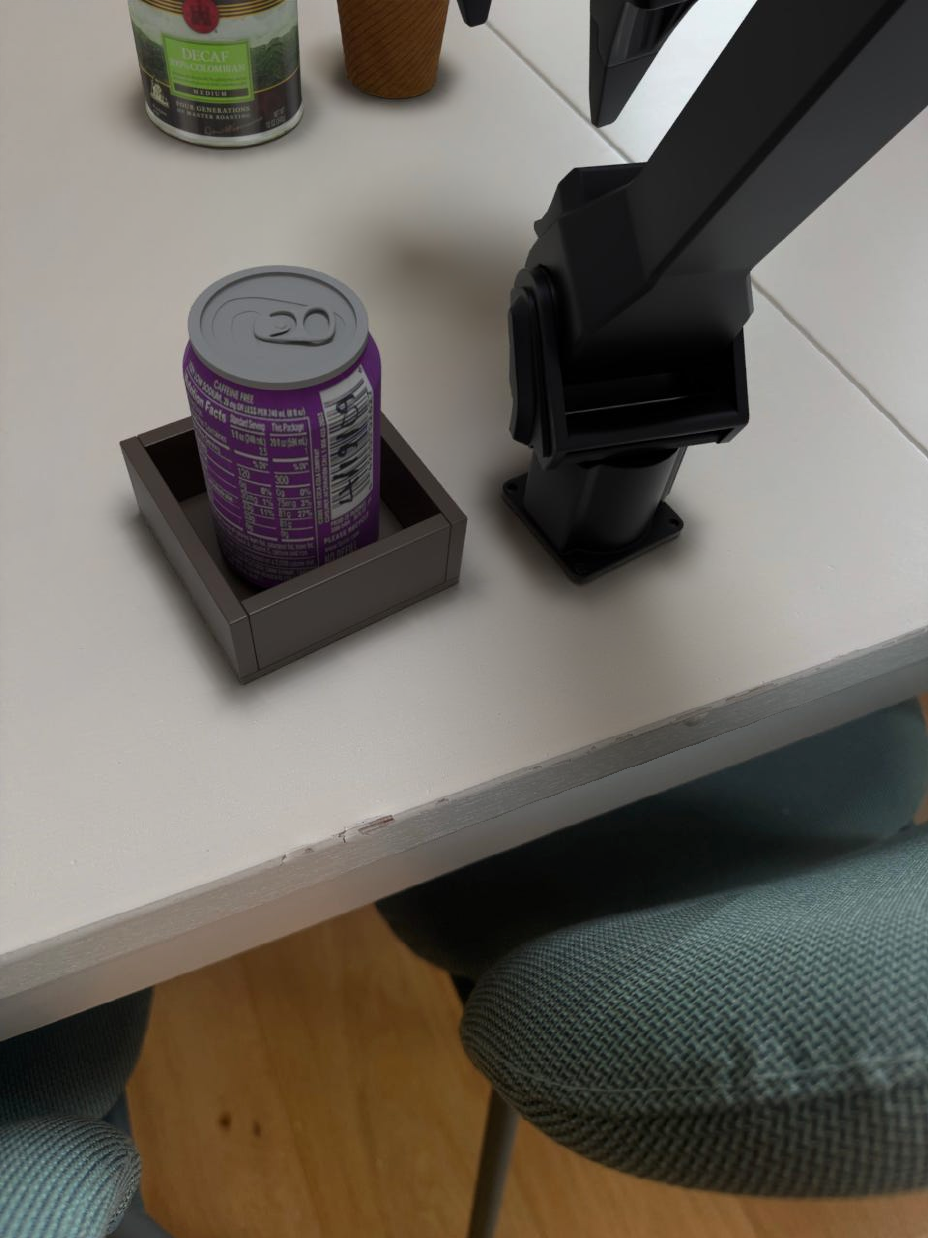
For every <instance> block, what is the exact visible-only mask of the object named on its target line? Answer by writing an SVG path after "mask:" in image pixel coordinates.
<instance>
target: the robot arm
mask: <svg viewBox="0 0 928 1238" xmlns="http://www.w3.org/2000/svg"><path fill="white" fill-rule="evenodd" d="M492 1H493V0H456V3H457V6H458V9H459V12H460V15H461V19H462V21H463V23H464V24H465V25H466V26H467V27H469V28H474V27H478V26H481V25H484V24H486V22H487V21H488V19H489V15H490V12H491V11H490V10H491V6H492ZM699 1H700V0H589V38H588V39H589V42H588V43H589V45H588V46H589V47H588V103H589V113H590V123H591V125H593V126H594V127H595V128H596V129H600V128H603V127H606V126H609V125H612V124H613V123H615V121H617V119H618V117H619V116H620V115H621V113H622V111H623V110H624V109H625V107H626V105H627V103H628V102H629V100H630V98H632V96H633V94H634V92H635V91H636V89H637V87H638V86H639V84H640V83H641V81H642V80H643V78H644V77H645V75H646V73H647V72H648V70H649V69H650V67H651V65H652V64H653V63H654V61H655V60H656V57H657V56H658V55H659V53H660V51H661V50H662V48H663V47H664V45H665V43H666V42H667V40H668V39H669V37H670V36H671V35H672V33H673V32H674V30H675V29H676V28H677V27H678V26H679V24H680V23H681V22H682V20H683V19H684V18H685V17H686V15H688V13H689V12H690V10H692V8H693V7H694V6H695V5H696V4H697V3H698V2H699ZM926 108H928V0H756V1H754V4H753V5H752V7H751V8H750V10H749V11H748V13H747V14H746V15H745V17H744V18H743V20H742V21H741V23H740V24H739V26H738V27H737V29H735V31H734V33H733V35H732V36H731V37H730V39H729V40H728V42H727V43H726V45H725V46H724V47H723V49H722V50H721V52H720V53H719V55H718V56H717V58H716V60H715V61H714V62H713V64H712V65H711V66H710V68H709V70H708V71H707V73H706V74H705V76H704V77H703V78H702V80H701V82H700V83H699V84H698V86H697V87H696V89H695V90H694V91H693V93H692V95H691V96H690V98H689V99H688V101H687V102H686V104H685V105H684V106H683V108H682V110H681V111H680V112H679V114H678V115H677V117H676V118H675V119H674V121H673V123H672V124H671V125H670V127H669V128H668V130H667V132H666V133H665V134H664V135H663V137H662V139H661V140H660V142H658V144H657V146H656V147H655V149H654V150H653V152H652V153H651V155H650V156H649V157H648V159H647V161H640V162H627V163H615V164H603V165H602V164H601V165H591V166H589V165H588V166H578V167H573V168H572V169H571V170H569V172H568V173H567V174H565V176H563V178H562V179H561V180H560V181H559V182H558V183H557V185H556V188H555V191H554V194H553V196H552V199H551V201H550V204H549V206H548V209H547V211H546V212H545V213H544V215H543V216H542V217H541V218H539V219H537V220H534V221H533V231H534V233H535V235H536V237H537V239H536V240H535V241H534V243H533V245H532V246H531V248H530V249H529V250H528V253H527V256H526V259H525V261H524V262H525V263H524V267H523V268H521V269H520V270H519V271H517V274H516V276H515V280H514V284H513V288H511V290H510V295H509V296H510V297H509V302H510V303H509V309H508V310H507V314H506V318H507V331H508V333H507V334H508V344H509V351H508V352H509V356H508V358H509V360H508V384H509V388H510V394H511V395H510V396H511V399H512V408H511V415H510V420H509V427H508V432H509V433H510V436H511V438H512V440H513V441H515V442H518V443H520V444H522V445H524V446H526V447H528V449H529V450H532V454H531V458H530V463H529V469H528V471H527V472H524V473H522V474H519V475H518V476H515V477H513V478H510V479H509V480H506V481H505V482H503V484H502V487H501V496H502V498H503V499H504V501H505V502H506V503H507V504H508V505H509V507H511V509H512V510H513V511H514V513H515V514H516V515H517V516H518V517H519V519H521V521H522V522H523V523H524V525H526V527H527V528H528V529H529V530H530V532H532V534H533V535H534V536H535V537H536V538H537V540H538V542H540V543H541V544H542V546H543V547H544V548H545V550H546V551H548V553H549V554H550V555H551V556H552V558H553V559H554V560H555V561H556V562H557V563H558V565H559V566H560V567H561V568H562V569H563V571H564V572H565V573H566V574H567V576H568V577H569V578H570V579H571V580H572V581H574V582H575V583H579V584H580V583H581V584H583V583H584V584H585V583H586V582H589V581H591V580H594V578H596V577H599V576H601V575H603V574H604V573H607V572H608V571H610V570H613V569H614V568H617V567H618V566H621V565H622V564H625V563H626V562H629V561H631V560H633V559H634V558H636V557H638V556H640V555H642V554H645V553H646V552H648V551H650V550H652V549H654V548H656V547H658V546H660V545H662V544H664V543H667V542H668V541H669V540H671V539H674V538H675V537H677V536H679V535H680V534H681V533H682V531H683V529H684V526H685V525H684V521H683V518H681V517H680V516H679V514H677V513H676V511H675V510H674V509H673V508H671V506H670V505H669V504H668V503H667V502H666V501H665V500H666V498H667V497H668V496H669V495H670V493H671V490H672V488H673V487H674V486H673V485H674V483H675V480H676V478H677V475H678V472H679V470H680V468H681V465H682V464H683V463H682V462H683V460H684V457H685V456H686V453H687V450H688V447H692V446H693V447H694V446H699V445H706V444H713V443H715V444H717V445H720V444H726V443H727V444H728V443H731V442H732V440H734V438H736V437H737V435H738V434H740V433H741V432H742V431H743V430H744V429H745V428H746V427H747V426H748V424H749V423H750V418H751V417H750V415H751V414H750V402H749V388H748V387H749V386H748V373H747V372H748V371H747V360H746V345H745V330H744V326H745V325H746V324H747V322H748V321H749V320H750V318H751V317H752V315H753V314H754V311H755V305H754V295H753V286H752V277H751V272H752V270H753V269H754V268H755V267H756V266H757V265H758V264H759V263H761V262H762V261H763V259H764V258H765V257H767V256H768V255H769V254H770V253H771V252H772V251H773V250H774V249H775V248H776V247H777V246H778V245H780V244H781V243H782V242H783V241H784V240H785V239H786V238H787V237H788V236H789V235H791V234H792V232H794V231H795V230H796V229H797V228H798V227H799V226H800V225H801V224H802V223H803V222H804V221H806V219H808V218H809V217H810V216H811V215H812V214H813V213H814V212H815V211H816V210H817V209H819V208H820V207H821V206H822V205H823V204H824V203H825V202H826V201H827V200H828V199H829V198H831V196H832V195H833V194H835V193H836V192H837V191H838V190H839V189H840V188H841V187H843V185H844V184H845V183H846V182H848V181H849V180H850V179H851V178H852V177H853V176H854V175H855V174H856V173H857V172H858V171H860V169H861V168H863V167H864V166H865V165H866V164H867V163H868V162H869V161H870V160H871V159H872V158H874V157H875V156H876V155H877V154H878V153H879V152H880V151H881V150H882V149H883V148H885V146H887V144H889V143H890V141H893V139H894V138H895V137H896V136H897V135H898V134H899V133H900V132H901V131H903V129H905V128H906V127H907V126H908V125H909V124H910V123H911V122H912V121H913V120H915V118H916V117H918V116H919V115H920V114H921V113H922V112H923V111H924V110H925V109H926ZM672 525H673V526H672ZM578 570H580V571H583V572H579V571H578Z"/></svg>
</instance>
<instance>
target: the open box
mask: <svg viewBox="0 0 928 1238" xmlns="http://www.w3.org/2000/svg"><path fill="white" fill-rule="evenodd" d="M118 444H119V448H120V451H121V454H122V457H123V460H124V463H125V464H124V465H125V467H126V470H127V474H128V477H129V480H130V484H131V487H132V490H133V493H134V497H135V499H136V503H137V505H138V509H139V512H140V514H141V516H142V517H143V519H144V521H145V522H146V524H147V526H148V528H149V529H150V531H151V532H152V534H153V536H154V537H155V540H156V541H157V543H158V544H159V546H160V547H161V550H162V552H163V553H164V555H165V556H166V558H167V560H168V562H169V563H170V565H171V567H172V568H173V570H174V572H175V574H176V575H177V577H178V578H179V581H180V582H181V583H182V585H183V587H184V589H185V590H186V592H187V594H188V596H189V597H190V599H191V600H192V602H193V604H194V605H195V608H196V609H197V610H198V612H199V614H200V616H201V617H202V619H203V621H204V623H205V624H206V626H207V628H208V629H209V632H210V633H211V634H212V636H213V638H214V639H215V641H216V643H217V645H218V646H219V648H220V650H221V651H222V653H223V655H224V657H225V658H226V660H227V662H228V663H229V666H231V668H232V670H233V672H234V673H235V675H236V677H237V679H238V680H239V681H240V683H241V685H245V684H247V683H250V682H252V681H254V680H256V679H259V678H261V677H263V676H264V675H267V674H269V673H271V672H272V671H275V670H276V669H279V668H282V667H283V666H285V665H287V664H289V663H291V662H294V661H295V660H298V659H300V658H302V657H304V656H306V655H309V654H310V653H312V652H314V651H317V650H319V649H321V648H324V647H325V646H327V645H329V644H331V643H334V642H335V641H338V640H340V639H343V638H344V637H346V636H347V635H348V636H349V635H350V634H352V633H354V632H356V631H358V630H360V629H363V628H365V627H368V626H369V625H371V624H373V623H375V622H377V621H381V620H382V619H384V618H385V617H388V616H390V615H392V614H394V613H397V612H399V611H401V610H402V609H405V608H407V607H409V606H411V605H413V604H416V603H417V602H420V601H422V600H424V599H426V598H428V597H430V596H432V595H434V594H436V593H438V592H440V591H443V590H445V589H447V588H448V587H451V586H453V585H455V584H457V583H459V582H460V577H461V576H460V575H461V571H462V564H463V563H462V562H463V556H464V548H465V540H466V532H467V527H468V526H467V525H468V520H469V519H468V516H467V514H465V512H464V511H463V510H462V509H461V508H460V506H459V505H458V504H457V502H456V501H455V500H454V499H453V498H452V496H451V495H450V494H449V493H448V491H447V490H446V489H445V488H444V486H443V485H442V484H441V483H440V481H439V479H437V478H436V476H435V475H434V474H433V472H431V470H430V469H429V468H428V467H427V465H426V464H425V463H424V462H423V460H422V459H421V458H420V457H419V456H418V454H417V453H416V452H415V450H414V449H413V448H412V447H411V445H410V444H409V443H408V442H407V441H406V439H405V438H404V437H403V436H402V434H401V433H400V432H399V431H398V429H397V428H396V427H395V426H394V424H393V423H392V422H391V420H389V418H388V417H387V416H386V414H385V413H384V412H383V411H382V410H381V434H380V508H379V536H378V541H376V542H374V543H371V544H369V545H367V546H365V547H362V548H360V549H358V550H356V551H353V552H351V553H349V554H347V555H344V556H342V557H340V558H337V559H335V560H333V561H331V562H328V563H326V564H324V565H322V566H319V567H317V568H315V569H313V570H310V571H308V572H306V573H304V574H301V575H299V576H297V577H295V578H292V579H290V580H288V581H285V582H283V583H281V584H279V585H276V586H274V587H272V588H270V589H267V588H264V587H261V586H259V585H256V584H254V583H252V582H250V581H249V580H247V579H245V578H244V577H242V576H241V575H239V574H238V573H237V572H236V571H235V570H234V569H233V568H232V567H231V566H230V565H229V564H228V563H227V561H226V560H225V558H224V557H223V555H222V553H221V551H220V548H219V545H218V541H217V536H216V532H215V527H214V522H213V517H212V512H211V508H210V503H209V498H208V493H207V488H206V484H205V479H204V474H203V469H202V464H201V460H200V455H199V450H198V445H197V440H196V436H195V431H194V426H193V421H192V416H191V415H189V416H187V417H183V418H181V419H178V420H175V421H172V422H170V423H167V424H164V425H161V426H158V427H155V428H153V429H150V430H147V431H144V432H142V433H139V434H137V435H134V436H130V437H128V438H126V439H123V440H120V441H119V443H118Z"/></svg>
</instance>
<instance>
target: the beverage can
mask: <svg viewBox="0 0 928 1238" xmlns="http://www.w3.org/2000/svg"><path fill="white" fill-rule="evenodd" d="M369 324H370V323H369V316H368V312H367V309H366V307H365V304H364V303H363V301H362V300H361V298H360V297H359V295H358V294H357V293H356V292H355V291H354V290H353V289H352V288H350V287H349V285H347V284H345V283H344V282H342V281H341V280H339V279H338V278H336V277H334V276H332V275H329V274H327V273H325V272H322V271H319V270H316V269H313V268H308V267H303V266H302V267H301V266H297V265H285V264H281V265H280V264H273V265H271V264H269V265H261V266H254V267H249V268H245V269H241V270H238V271H234V272H232V273H229V274H228V275H225V276H223V277H221V278H220V279H218V280H216V281H214V282H212V283H211V284H210V285H209V286H207V287H206V288H205V289H204V290H202V291H201V293H200V294H199V295H198V296H197V297H196V299H195V300H194V301H193V303H192V305H191V307H190V310H189V312H188V316H187V332H188V333H187V334H188V336H189V337H188V338H189V339H188V341H187V344H186V346H185V348H184V352H183V357H182V364H181V365H182V367H181V368H182V377H183V378H182V379H183V383H184V387H185V393H186V396H187V402H188V406H189V411H190V416H192V421H193V426H194V431H195V436H196V440H197V445H198V450H199V455H200V460H201V464H202V469H203V474H204V479H205V484H206V488H207V493H208V498H209V503H210V508H211V512H212V517H213V522H214V527H215V532H216V536H217V541H218V545H219V548H220V551H221V553H222V555H223V557H224V558H225V560H226V561H227V563H228V564H229V565H230V566H231V567H232V568H233V569H234V570H235V571H236V572H237V573H238V574H239V575H241V576H242V577H244V578H245V579H247V580H249V581H250V582H252V583H254V584H256V585H259V586H261V587H264V588H267V589H270V588H272V587H274V586H276V585H279V584H281V583H283V582H285V581H288V580H290V579H292V578H295V577H297V576H299V575H301V574H304V573H306V572H308V571H310V570H313V569H315V568H317V567H319V566H322V565H324V564H326V563H328V562H331V561H333V560H335V559H337V558H340V557H342V556H344V555H347V554H349V553H351V552H353V551H356V550H358V549H360V548H362V547H365V546H367V545H369V544H371V543H374V542H376V541H378V536H379V508H380V434H381V411H382V359H381V354H380V350H379V347H378V346H377V343H376V341H375V339H374V336H373V335H372V334H371V332H370V330H369Z"/></svg>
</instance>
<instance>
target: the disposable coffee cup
mask: <svg viewBox="0 0 928 1238" xmlns="http://www.w3.org/2000/svg"><path fill="white" fill-rule="evenodd" d="M450 1H451V0H336V5H337V13H338V21H339V27H340V28H339V29H340V36H341V44H342V50H343V59H344V65H345V74H346V78H347V79H348V81H349V83H351V84H352V85H353V86H354V87H355V88H356V89H358V90H360V91H362V92H364V93H367V94H369V95H372V96H375V97H381V98H389V99H403V98H411V97H412V98H413V97H415V96H420V95H422V94H425V93H426V92H427V91H429V90H431V88H433V86H434V85H435V83H436V80H437V73H438V69H439V62H440V57H441V52H442V47H443V46H442V45H443V40H444V34H445V28H446V24H447V18H448V13H449V6H450Z"/></svg>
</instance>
